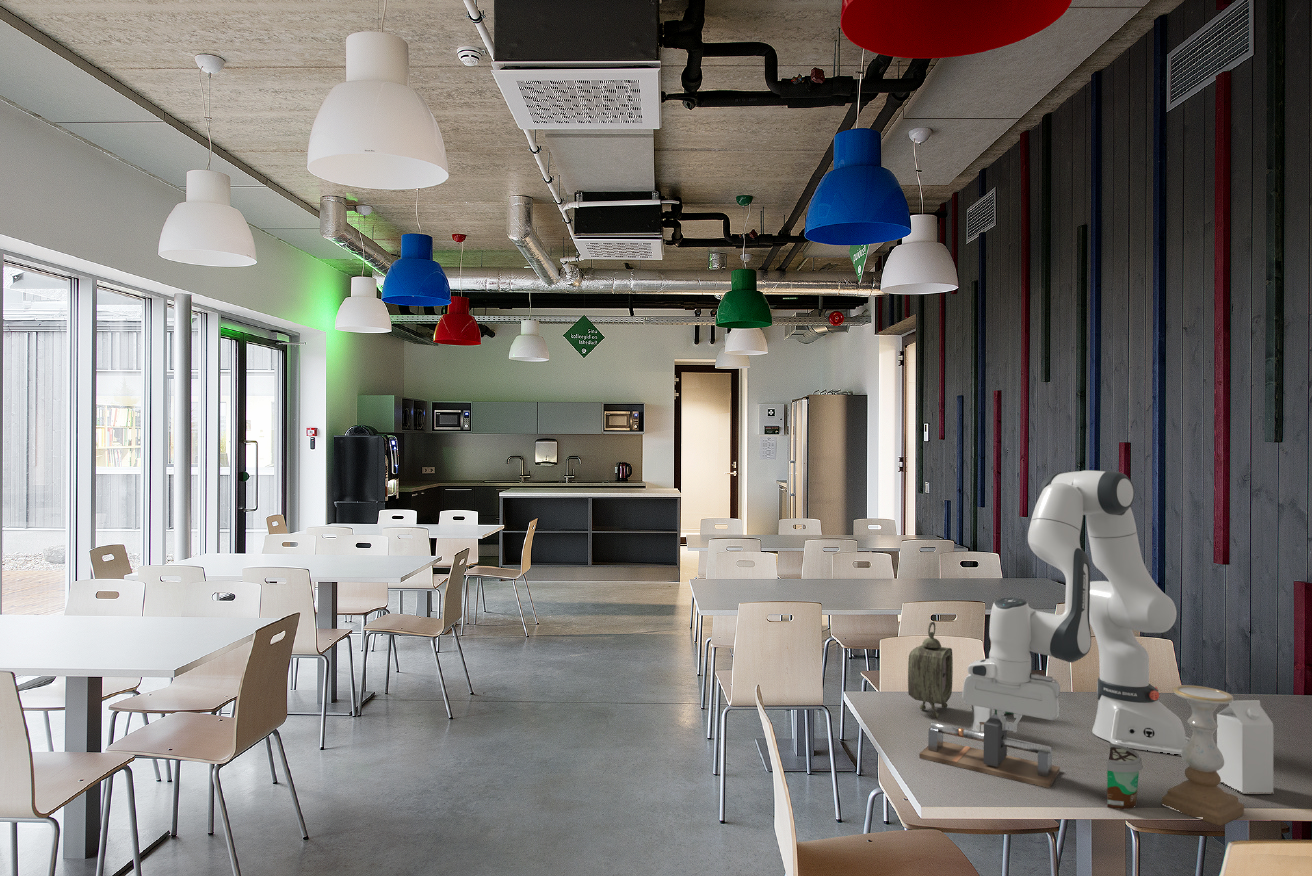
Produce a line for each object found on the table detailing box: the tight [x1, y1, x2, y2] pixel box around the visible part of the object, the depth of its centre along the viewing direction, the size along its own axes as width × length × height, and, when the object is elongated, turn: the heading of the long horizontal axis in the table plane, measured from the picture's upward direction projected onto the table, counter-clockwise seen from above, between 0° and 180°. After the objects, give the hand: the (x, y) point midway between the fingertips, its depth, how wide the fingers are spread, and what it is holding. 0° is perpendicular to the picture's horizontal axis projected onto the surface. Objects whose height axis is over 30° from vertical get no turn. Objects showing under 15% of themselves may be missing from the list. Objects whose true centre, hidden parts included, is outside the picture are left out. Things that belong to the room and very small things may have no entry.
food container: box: [1106, 742, 1144, 810], centre depth 166 cm, size 12×6×10 cm, turn 148°
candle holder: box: [1161, 684, 1245, 827], centre depth 163 cm, size 11×11×24 cm
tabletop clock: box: [907, 621, 954, 719], centre depth 225 cm, size 14×9×25 cm, turn 148°
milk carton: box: [1216, 699, 1274, 793], centre depth 175 cm, size 7×7×19 cm
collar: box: [983, 714, 1008, 767], centre depth 185 cm, size 3×9×9 cm, turn 144°
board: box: [918, 740, 1061, 789], centre depth 186 cm, size 28×12×1 cm, turn 54°
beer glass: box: [970, 705, 995, 733], centre depth 209 cm, size 7×7×15 cm
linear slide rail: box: [927, 721, 1053, 777], centre depth 186 cm, size 26×5×6 cm, turn 54°
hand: (1009, 731), depth 183 cm, fingers closed
